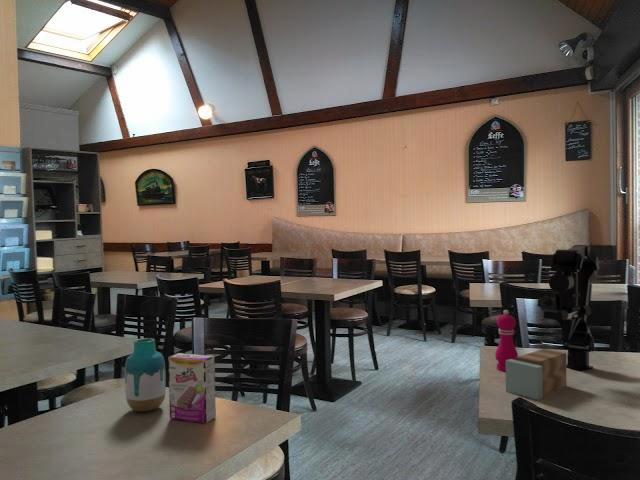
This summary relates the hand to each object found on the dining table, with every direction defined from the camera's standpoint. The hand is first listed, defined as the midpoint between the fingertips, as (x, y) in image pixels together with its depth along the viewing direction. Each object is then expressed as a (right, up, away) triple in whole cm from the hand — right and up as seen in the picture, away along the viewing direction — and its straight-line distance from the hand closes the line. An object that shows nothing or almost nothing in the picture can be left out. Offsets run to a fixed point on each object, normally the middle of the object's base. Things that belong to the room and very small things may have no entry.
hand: (567, 339), depth 161 cm
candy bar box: (-110, -15, -28) cm, 115 cm away
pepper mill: (-15, -12, +11) cm, 22 cm away
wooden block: (-12, -13, -9) cm, 20 cm away
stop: (-19, -13, -14) cm, 27 cm away
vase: (-125, -16, -20) cm, 127 cm away
